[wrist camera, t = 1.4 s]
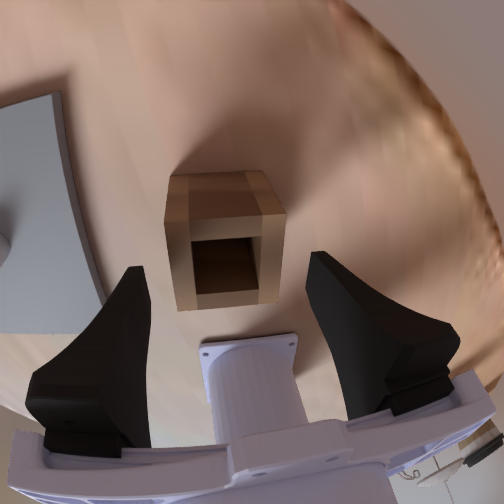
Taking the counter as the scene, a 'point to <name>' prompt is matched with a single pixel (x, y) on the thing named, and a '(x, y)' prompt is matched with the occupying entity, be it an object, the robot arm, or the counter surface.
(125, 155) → the counter surface
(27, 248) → the pin plate
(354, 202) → the counter surface
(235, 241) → the walnut collar
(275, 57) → the counter surface
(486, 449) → the coffee cup
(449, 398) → the robot arm
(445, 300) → the counter surface
